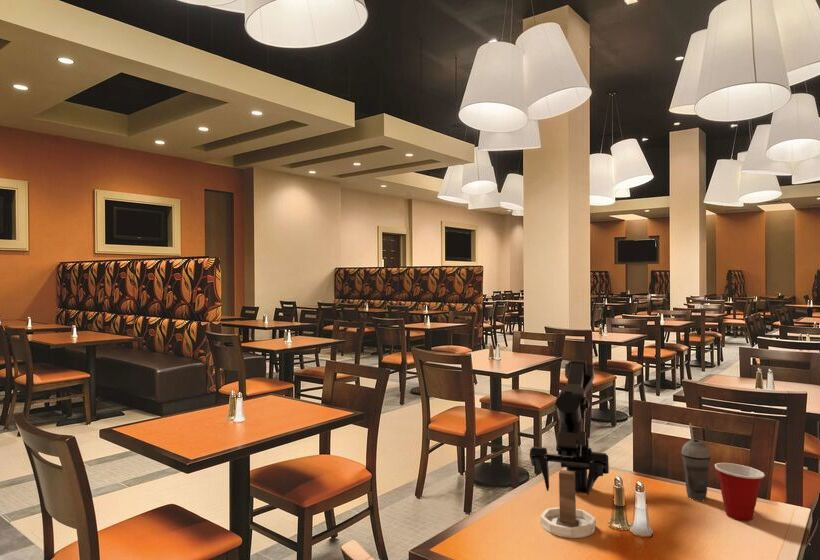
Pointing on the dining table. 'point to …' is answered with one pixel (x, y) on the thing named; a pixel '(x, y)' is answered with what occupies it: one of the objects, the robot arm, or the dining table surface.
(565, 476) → the brown tall rectangular block
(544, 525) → the saucer
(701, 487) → the beverage cup
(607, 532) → the dining table surface
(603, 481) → the dining table surface
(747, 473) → the plastic cup
